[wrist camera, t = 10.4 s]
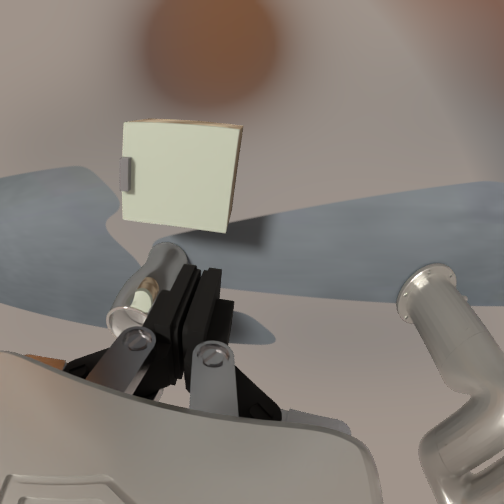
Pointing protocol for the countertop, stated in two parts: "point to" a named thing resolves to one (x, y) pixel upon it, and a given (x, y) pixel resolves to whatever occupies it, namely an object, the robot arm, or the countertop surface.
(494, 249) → the countertop surface
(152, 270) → the beer glass
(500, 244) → the countertop surface
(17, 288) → the countertop surface
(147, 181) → the box lid
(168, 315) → the robot arm
